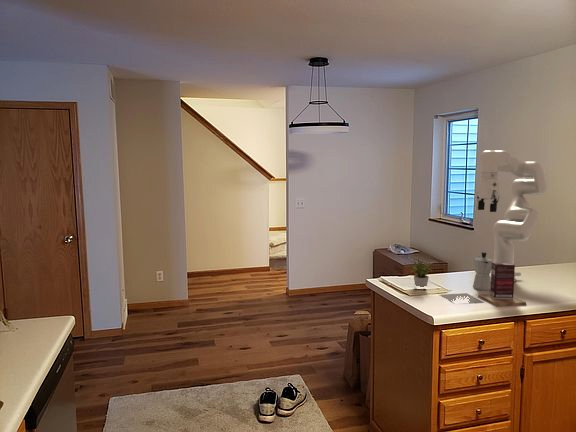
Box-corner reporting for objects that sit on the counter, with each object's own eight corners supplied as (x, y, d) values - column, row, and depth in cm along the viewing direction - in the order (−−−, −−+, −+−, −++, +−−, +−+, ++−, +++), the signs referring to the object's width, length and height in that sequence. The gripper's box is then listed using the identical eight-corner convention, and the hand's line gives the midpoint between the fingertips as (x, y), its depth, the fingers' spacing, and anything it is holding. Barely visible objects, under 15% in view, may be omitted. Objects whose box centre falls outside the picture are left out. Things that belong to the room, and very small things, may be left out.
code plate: (466, 293, 208) (466, 293, 208) (484, 302, 194) (484, 302, 194) (439, 295, 205) (439, 294, 205) (455, 304, 192) (455, 303, 192)
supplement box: (508, 296, 199) (510, 262, 197) (513, 299, 194) (515, 264, 192) (489, 296, 199) (491, 262, 197) (493, 299, 194) (495, 264, 192)
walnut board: (505, 295, 204) (505, 292, 204) (526, 304, 191) (526, 302, 190) (477, 296, 202) (478, 294, 202) (496, 306, 188) (497, 303, 188)
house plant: (397, 287, 217) (398, 255, 215) (413, 282, 226) (414, 251, 224) (422, 294, 206) (423, 260, 205) (438, 288, 215) (439, 256, 213)
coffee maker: (495, 292, 209) (497, 255, 207) (475, 291, 211) (477, 254, 209) (487, 284, 224) (489, 249, 222) (469, 283, 226) (470, 248, 224)
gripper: (507, 176, 205) (505, 212, 207) (485, 175, 222) (483, 208, 224) (492, 176, 204) (490, 212, 206) (471, 175, 221) (469, 209, 223)
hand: (486, 210), depth 215 cm, fingers open, 9 cm apart
